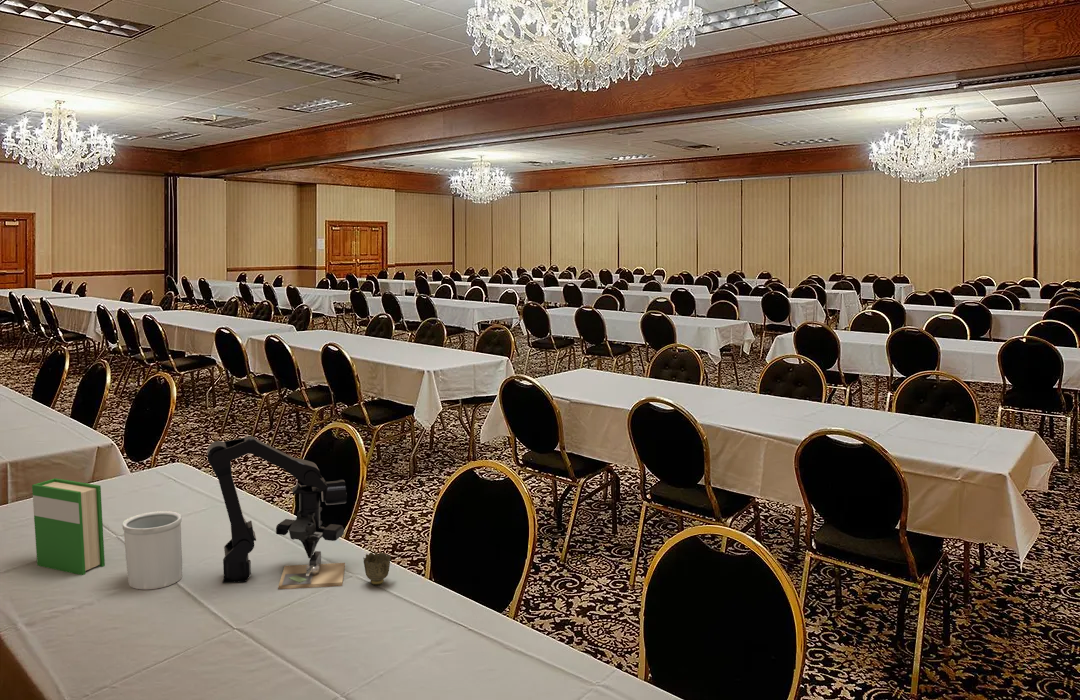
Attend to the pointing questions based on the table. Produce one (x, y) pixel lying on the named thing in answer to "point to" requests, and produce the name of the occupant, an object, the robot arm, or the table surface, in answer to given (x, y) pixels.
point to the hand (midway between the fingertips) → (310, 557)
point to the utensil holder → (153, 549)
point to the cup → (377, 567)
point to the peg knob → (314, 564)
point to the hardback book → (68, 525)
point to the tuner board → (312, 576)
